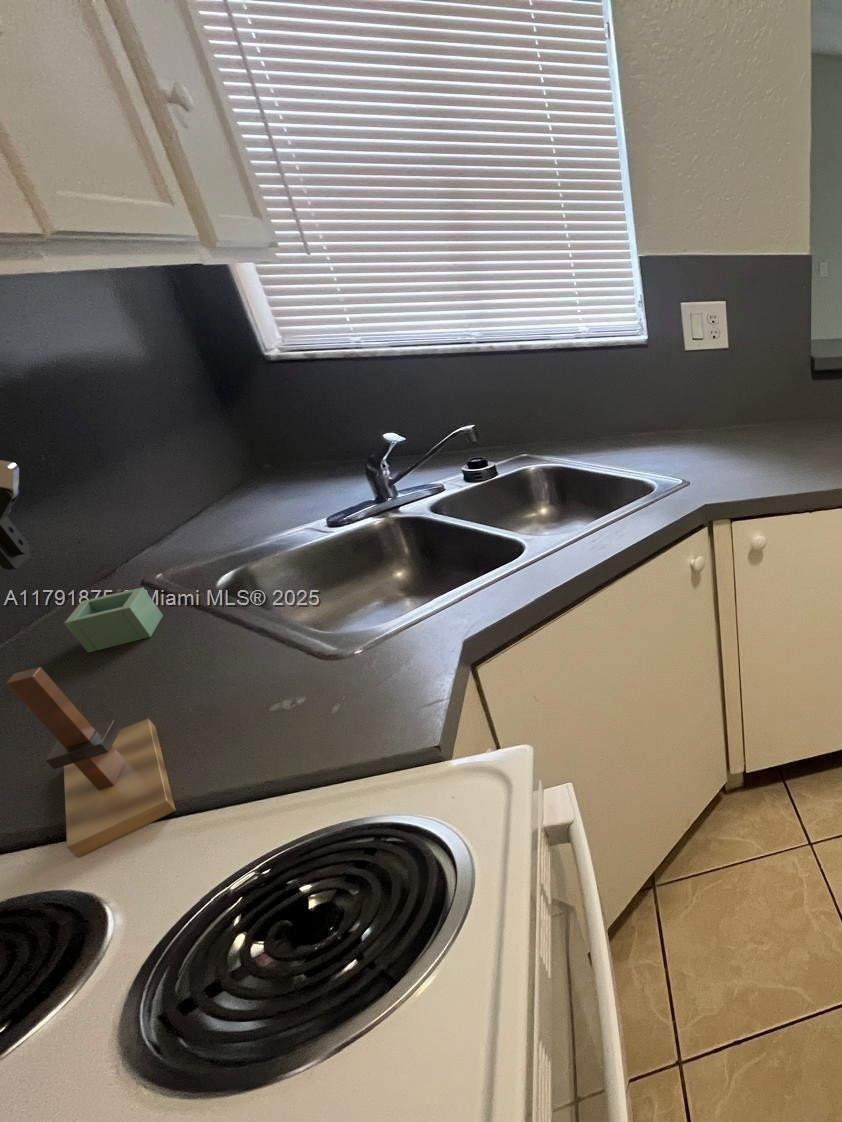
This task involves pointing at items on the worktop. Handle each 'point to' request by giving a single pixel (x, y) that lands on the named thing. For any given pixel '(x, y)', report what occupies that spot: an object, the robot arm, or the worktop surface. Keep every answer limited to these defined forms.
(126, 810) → the board
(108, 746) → the brown piece
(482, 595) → the worktop surface
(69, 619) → the green open box
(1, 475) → the robot arm
